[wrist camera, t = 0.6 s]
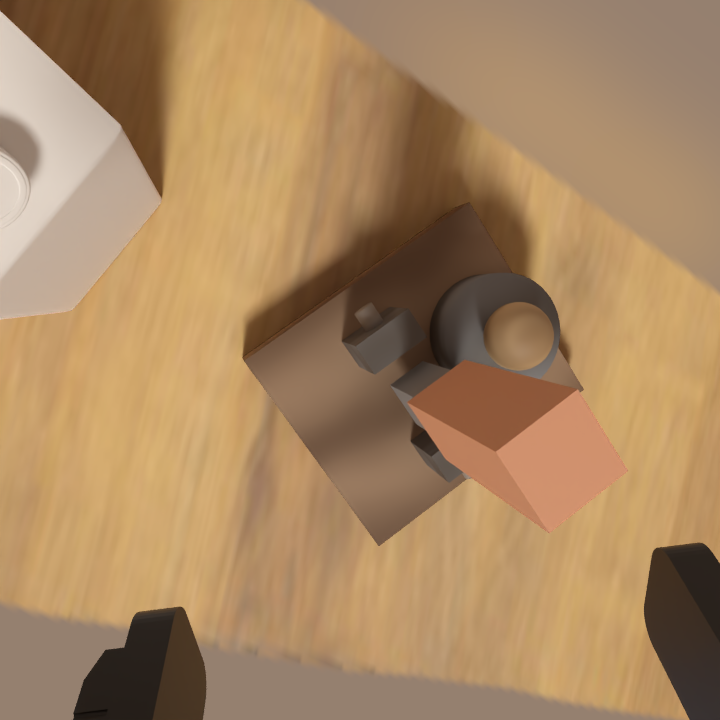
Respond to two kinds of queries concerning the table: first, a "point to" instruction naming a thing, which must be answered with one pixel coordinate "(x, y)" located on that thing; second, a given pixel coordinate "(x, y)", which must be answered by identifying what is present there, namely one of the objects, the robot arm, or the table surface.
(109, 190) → the milk carton
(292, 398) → the base
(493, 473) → the lever
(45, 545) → the table surface
